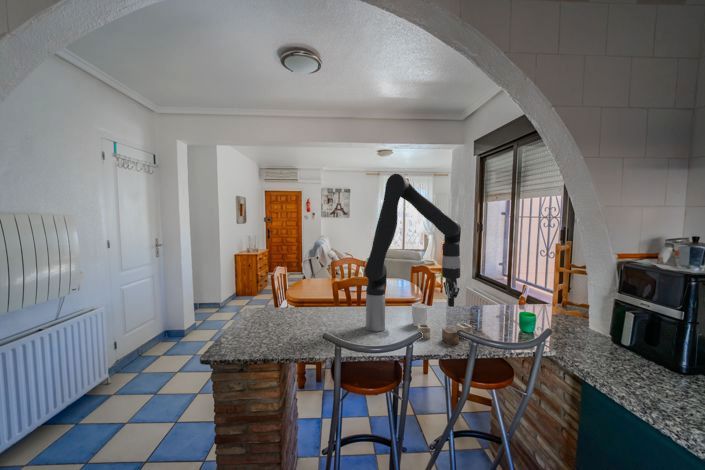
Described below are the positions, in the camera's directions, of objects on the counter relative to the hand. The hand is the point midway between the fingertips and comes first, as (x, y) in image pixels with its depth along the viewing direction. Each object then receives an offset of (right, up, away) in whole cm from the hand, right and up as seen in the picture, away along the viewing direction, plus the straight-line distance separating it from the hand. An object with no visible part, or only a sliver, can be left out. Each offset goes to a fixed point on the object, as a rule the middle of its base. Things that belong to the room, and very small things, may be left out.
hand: (451, 306), depth 120 cm
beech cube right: (+9, -16, +8) cm, 19 cm away
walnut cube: (0, -16, 0) cm, 16 cm away
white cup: (-9, -15, +21) cm, 27 cm away
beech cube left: (-10, -15, +6) cm, 20 cm away
